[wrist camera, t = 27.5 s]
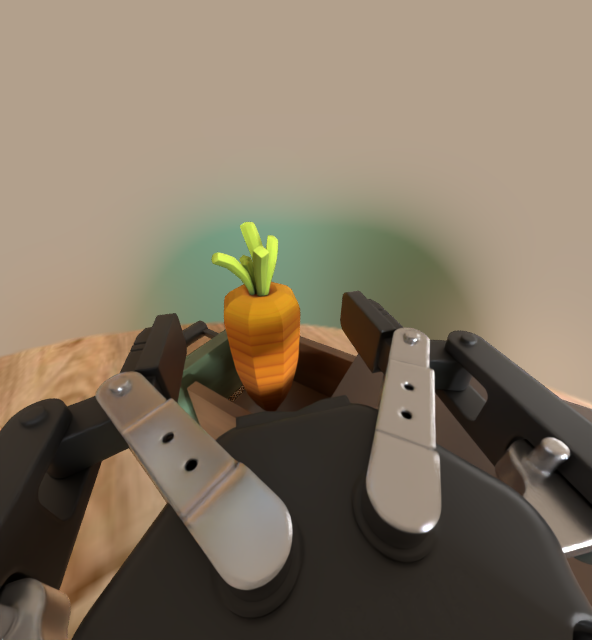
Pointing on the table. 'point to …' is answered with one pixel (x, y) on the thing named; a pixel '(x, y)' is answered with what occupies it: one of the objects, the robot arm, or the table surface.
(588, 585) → the cabinet
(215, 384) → the drawer
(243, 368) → the carrot
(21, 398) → the table surface
